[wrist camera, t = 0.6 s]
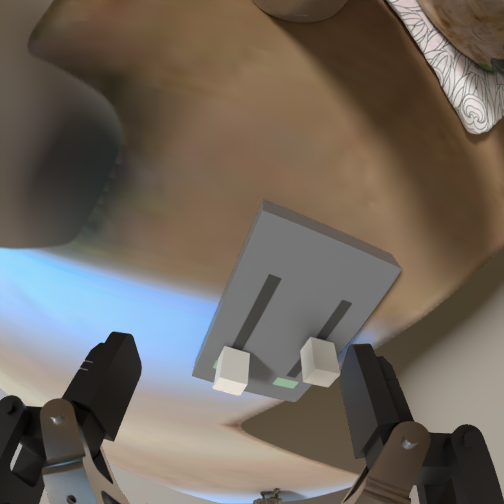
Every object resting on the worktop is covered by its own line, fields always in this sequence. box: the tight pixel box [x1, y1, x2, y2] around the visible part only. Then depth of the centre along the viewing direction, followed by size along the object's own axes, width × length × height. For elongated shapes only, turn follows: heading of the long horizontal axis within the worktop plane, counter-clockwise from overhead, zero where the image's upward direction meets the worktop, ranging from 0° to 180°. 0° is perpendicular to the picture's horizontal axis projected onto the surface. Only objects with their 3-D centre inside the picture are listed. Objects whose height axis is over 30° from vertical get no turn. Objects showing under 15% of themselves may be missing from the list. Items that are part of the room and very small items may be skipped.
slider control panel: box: [192, 199, 402, 402], centre depth 31 cm, size 24×15×3 cm, turn 159°
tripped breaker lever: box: [300, 337, 340, 387], centre depth 28 cm, size 2×3×4 cm
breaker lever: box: [213, 346, 250, 396], centre depth 29 cm, size 2×3×4 cm
